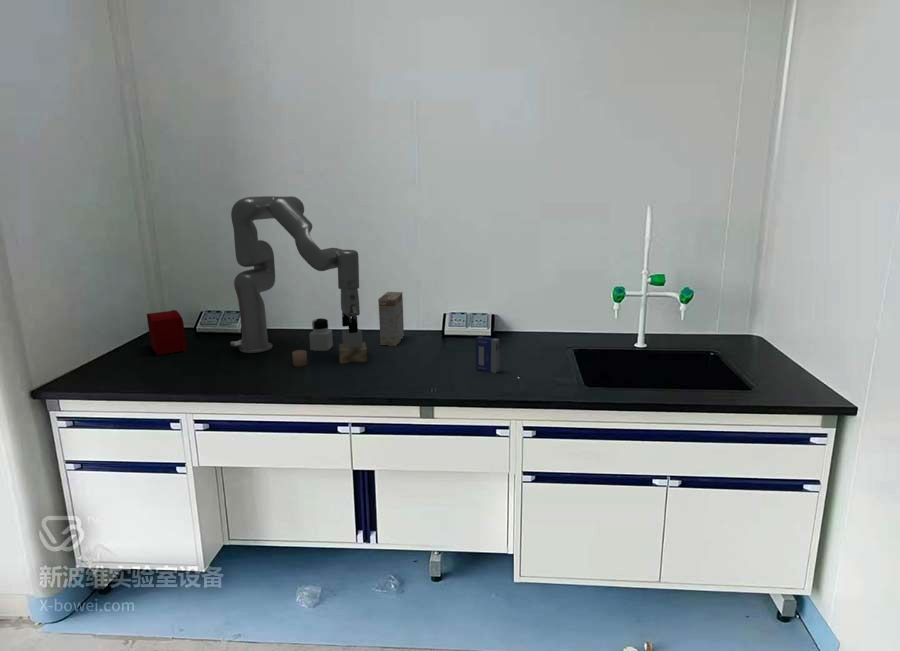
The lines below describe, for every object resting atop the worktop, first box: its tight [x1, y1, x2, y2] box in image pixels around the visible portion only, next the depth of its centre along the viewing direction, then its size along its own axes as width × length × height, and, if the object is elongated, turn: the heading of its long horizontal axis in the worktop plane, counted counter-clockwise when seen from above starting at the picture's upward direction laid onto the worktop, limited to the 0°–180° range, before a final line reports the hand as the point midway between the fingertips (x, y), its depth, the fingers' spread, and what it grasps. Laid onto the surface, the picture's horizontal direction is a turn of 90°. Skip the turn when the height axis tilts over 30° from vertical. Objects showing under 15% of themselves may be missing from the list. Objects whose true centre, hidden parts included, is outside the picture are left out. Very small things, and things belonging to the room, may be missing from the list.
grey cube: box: [341, 328, 363, 349], centre depth 214 cm, size 6×6×6 cm
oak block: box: [338, 341, 368, 364], centre depth 215 cm, size 10×10×5 cm
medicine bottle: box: [308, 317, 334, 352], centre depth 228 cm, size 7×7×12 cm
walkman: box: [475, 335, 500, 374], centre depth 199 cm, size 8×3×12 cm, turn 60°
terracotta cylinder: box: [291, 349, 308, 368], centre depth 208 cm, size 5×5×5 cm
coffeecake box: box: [377, 291, 405, 347], centre depth 236 cm, size 15×7×20 cm, turn 172°
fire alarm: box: [146, 309, 187, 356], centre depth 229 cm, size 16×11×15 cm
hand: (349, 329), depth 213 cm, fingers open, 9 cm apart
